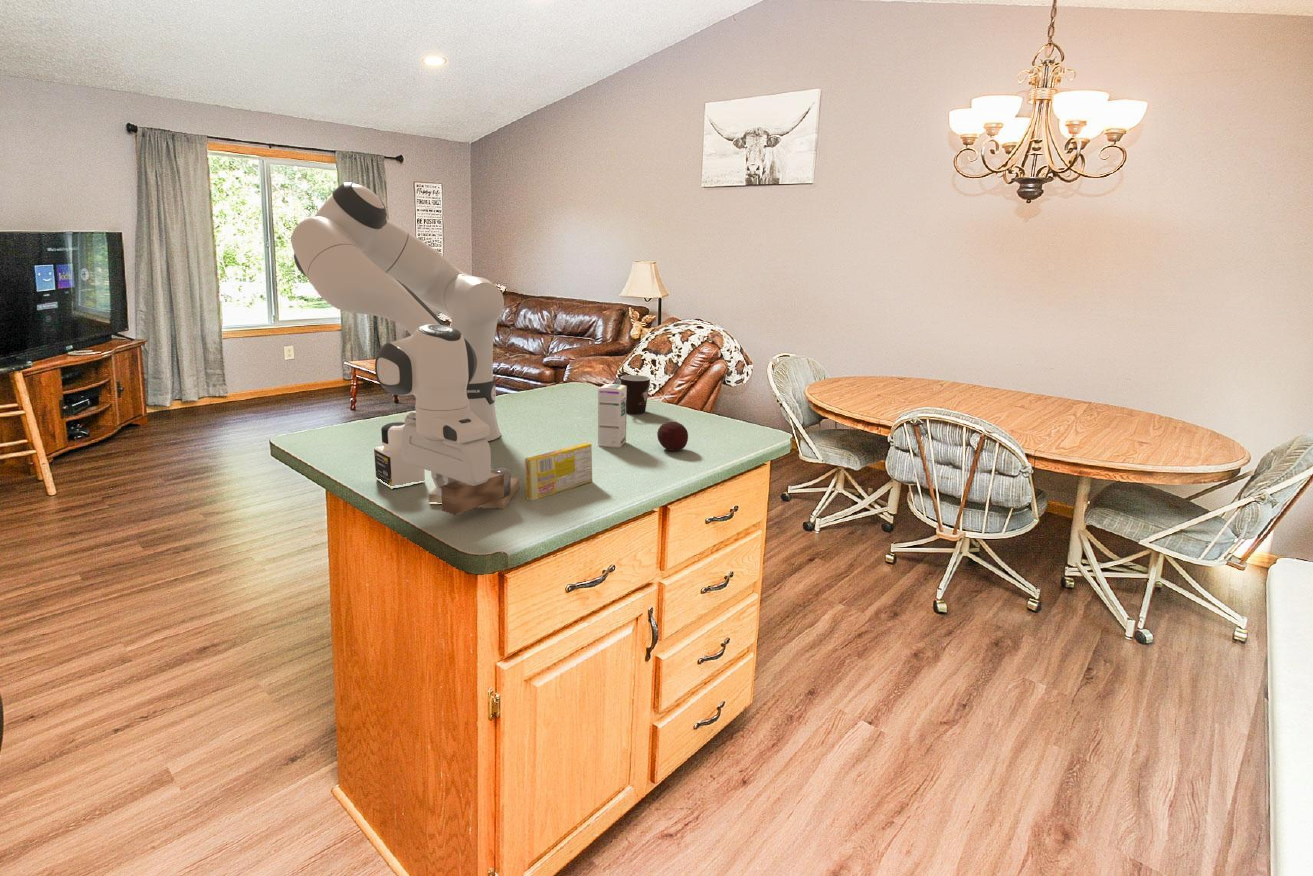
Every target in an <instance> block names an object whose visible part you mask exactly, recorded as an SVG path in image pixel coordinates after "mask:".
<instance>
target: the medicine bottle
mask: <svg viewBox="0 0 1313 876" xmlns="http://www.w3.org/2000/svg"><path fill="white" fill-rule="evenodd" d="M404 426H405V421H404V422H403V421H398V422H397V421H396V422H390V423H386V424H385V425H382V427H381V428H380V431H381V443H382V445H381V446H375V447H374V449H373V453H374V465H375V466H374V468H375V478H376V477H377V478H378V479H381V480H382V481H383V482H385V483H387V484H388V485H390V486H395V485H403V484H406V483H411V482H419V481H424V480H425V481H426V479H425V478H426V476H425V475H426V474H425V469H423V468H420V467H417V466H414V465H412V464H409V463H406V462H404V461H403V458H402V456H401V438H402V430H403V427H404Z"/></svg>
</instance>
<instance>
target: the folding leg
mask: <svg viewBox="0 0 1313 876" xmlns="http://www.w3.org/2000/svg"><path fill="white" fill-rule="evenodd" d="M511 475H512V474H511V469H509V468H506V467H496V468H495V467H494V468H491V475H490V478H489V479H488V481H487V482H485V483H482V484H479V485H476V486H471V485H468V484H466V483H463V482H460V481H456V482H453V483H450V484H447V485H444V486H441V493H442V505H441V509H442V510H441V511H442V512H445V513H448V514H451V515H454V516H456V515H459V514H462V513H465V512H467V511H470V510H472V509H475V508H479V507H478V506H481V505H483V504H486V503H489V502H492V501H494V500H497V499H500V498H502V497H506V496H509V495H510V494H511V478H512V476H511Z"/></svg>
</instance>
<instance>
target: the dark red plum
mask: <svg viewBox="0 0 1313 876" xmlns="http://www.w3.org/2000/svg"><path fill="white" fill-rule="evenodd" d="M656 436H657V441H658V442H659V444H660V445H661V447H662V448H664V449H666V450H669V451H677V452H678V451H681V450H683V449H684V448H685V447H686V446H687V444H688V441H689V433H688V430H687V429H686V426H684V425H683V424H682V423H680V422H677V421H667V422H665V423H663V424H661V425H660V426H659V427H658V429H657V435H656Z"/></svg>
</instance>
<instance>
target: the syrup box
mask: <svg viewBox="0 0 1313 876" xmlns="http://www.w3.org/2000/svg"><path fill="white" fill-rule="evenodd" d="M626 394H627V386H626V385H621V383H620V384H619V383H604V384H603V385H602V386H600V387H599V388H598V389H597V445H598V446H600V447H604V448H606V447H607V448H616V449H620V448H621V447H622V446H623V445H625V444H626V442H627V413H626Z"/></svg>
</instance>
